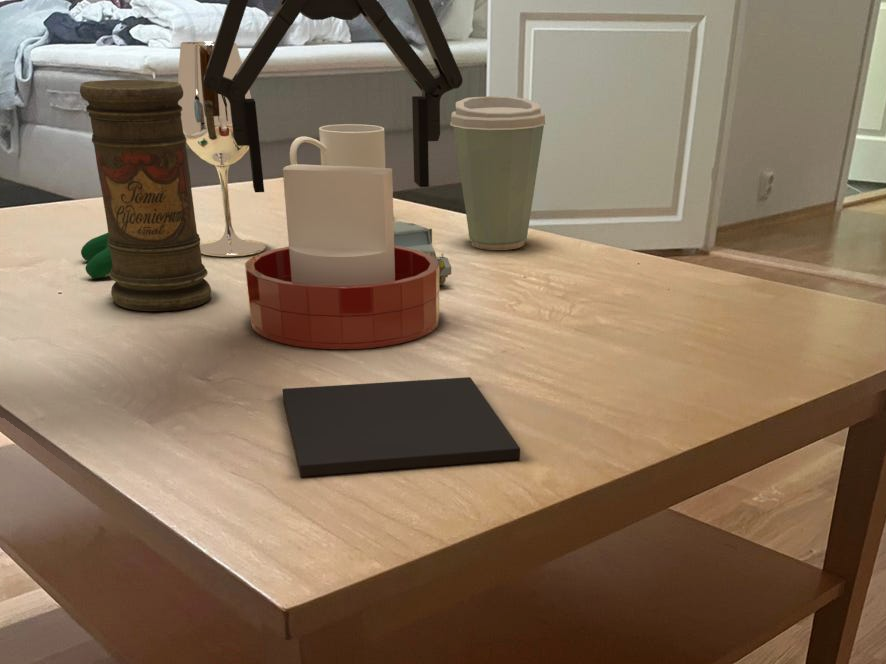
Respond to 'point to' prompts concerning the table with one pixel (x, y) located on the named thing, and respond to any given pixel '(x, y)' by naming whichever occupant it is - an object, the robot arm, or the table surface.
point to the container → (146, 194)
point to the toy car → (420, 244)
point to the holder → (394, 426)
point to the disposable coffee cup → (498, 166)
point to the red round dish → (343, 304)
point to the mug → (347, 145)
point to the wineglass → (212, 134)
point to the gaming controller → (97, 256)
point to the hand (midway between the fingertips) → (341, 187)
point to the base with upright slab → (340, 224)
